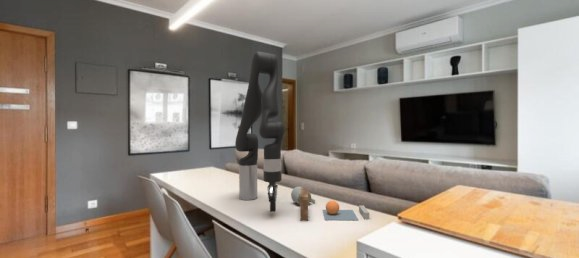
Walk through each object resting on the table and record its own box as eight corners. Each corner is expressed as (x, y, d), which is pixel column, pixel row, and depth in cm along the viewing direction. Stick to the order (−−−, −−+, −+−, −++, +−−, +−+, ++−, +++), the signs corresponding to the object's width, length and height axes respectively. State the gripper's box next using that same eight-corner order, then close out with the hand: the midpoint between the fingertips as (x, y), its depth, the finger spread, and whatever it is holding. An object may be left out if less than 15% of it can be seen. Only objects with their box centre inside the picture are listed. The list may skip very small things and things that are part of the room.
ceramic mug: (298, 207, 125) (298, 190, 125) (290, 202, 132) (290, 186, 132) (318, 204, 130) (318, 188, 130) (310, 200, 137) (310, 185, 137)
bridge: (300, 220, 107) (300, 196, 107) (300, 209, 122) (300, 188, 122) (308, 220, 107) (308, 196, 107) (307, 209, 122) (307, 188, 121)
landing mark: (324, 220, 107) (324, 219, 107) (322, 210, 120) (322, 209, 120) (358, 220, 107) (358, 219, 107) (352, 210, 120) (352, 209, 120)
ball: (341, 200, 116) (341, 213, 115) (329, 198, 119) (329, 211, 119) (335, 202, 111) (335, 216, 111) (323, 201, 114) (323, 214, 114)
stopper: (364, 219, 108) (364, 212, 108) (359, 211, 118) (359, 205, 118) (369, 219, 108) (369, 212, 108) (363, 211, 118) (363, 205, 118)
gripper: (280, 172, 108) (280, 216, 108) (282, 167, 121) (283, 206, 121) (261, 172, 108) (261, 216, 108) (265, 167, 122) (266, 206, 122)
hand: (272, 211), depth 115 cm, fingers closed
